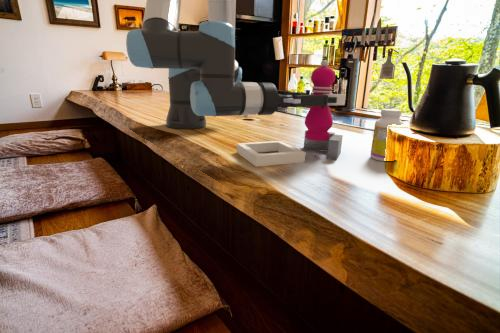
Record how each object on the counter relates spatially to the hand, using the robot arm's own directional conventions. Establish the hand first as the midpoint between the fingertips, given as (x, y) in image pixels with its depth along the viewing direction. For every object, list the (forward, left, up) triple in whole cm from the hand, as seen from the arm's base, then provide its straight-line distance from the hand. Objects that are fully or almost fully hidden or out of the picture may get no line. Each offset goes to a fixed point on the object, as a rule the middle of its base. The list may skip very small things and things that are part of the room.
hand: (337, 98), depth 80 cm
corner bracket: (0, -2, -15) cm, 15 cm away
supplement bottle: (+10, +9, -15) cm, 20 cm away
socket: (0, -19, -15) cm, 24 cm away
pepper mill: (0, -5, -11) cm, 12 cm away
